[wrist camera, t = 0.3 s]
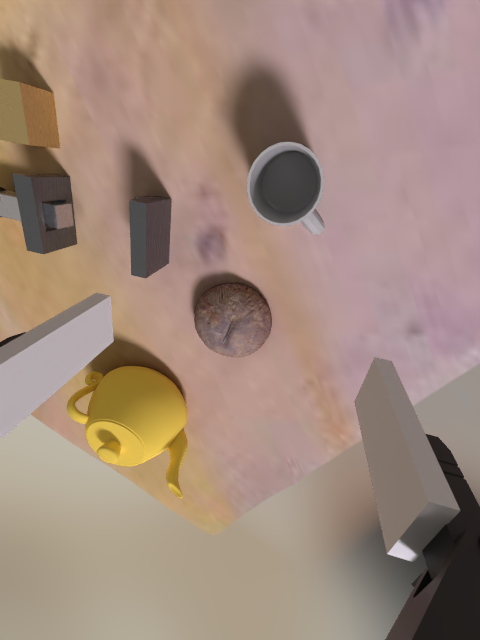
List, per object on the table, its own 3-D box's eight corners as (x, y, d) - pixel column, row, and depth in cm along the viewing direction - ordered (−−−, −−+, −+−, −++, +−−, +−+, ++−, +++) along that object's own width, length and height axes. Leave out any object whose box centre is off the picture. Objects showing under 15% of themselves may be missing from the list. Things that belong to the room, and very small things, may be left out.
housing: (62, 240, 45) (24, 251, 39) (53, 173, 40) (8, 173, 34) (168, 264, 43) (145, 279, 37) (171, 197, 38) (146, 201, 32)
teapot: (229, 409, 54) (207, 476, 42) (186, 454, 62) (158, 521, 50) (113, 334, 51) (55, 382, 39) (85, 391, 60) (30, 446, 48)
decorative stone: (278, 288, 42) (274, 303, 37) (266, 356, 47) (261, 377, 42) (199, 275, 43) (186, 287, 38) (197, 342, 49) (185, 361, 44)
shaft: (4, 212, 43) (-23, 216, 40) (-3, 183, 42) (-31, 184, 38) (76, 228, 42) (55, 233, 39) (73, 199, 40) (51, 201, 37)
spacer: (34, 143, 39) (-1, 139, 35) (25, 88, 36) (-14, 76, 32) (60, 148, 39) (29, 145, 34) (54, 93, 36) (19, 81, 31)
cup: (295, 133, 33) (292, 121, 25) (345, 206, 35) (356, 215, 27) (247, 180, 36) (231, 181, 28) (296, 244, 38) (293, 262, 30)
